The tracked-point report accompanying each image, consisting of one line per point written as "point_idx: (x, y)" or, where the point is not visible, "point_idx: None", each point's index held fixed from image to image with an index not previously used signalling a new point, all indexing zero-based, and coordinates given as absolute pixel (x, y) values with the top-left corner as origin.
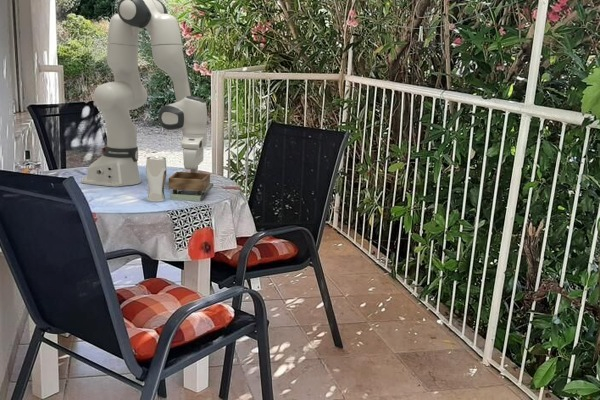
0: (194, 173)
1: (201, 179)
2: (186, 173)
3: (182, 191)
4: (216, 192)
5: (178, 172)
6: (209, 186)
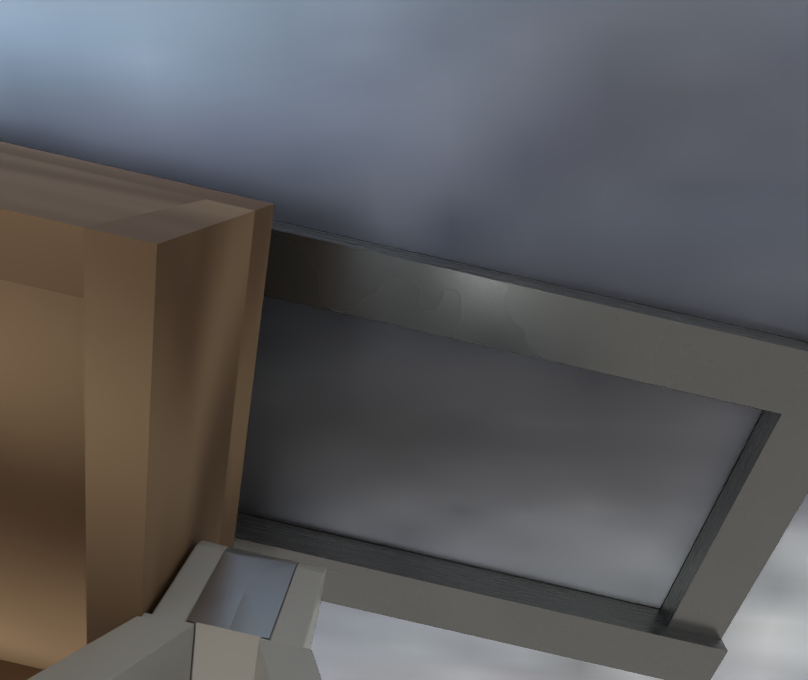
0: None
1: None
2: (100, 503)
3: None
4: (315, 646)
5: (90, 300)
6: (492, 630)
